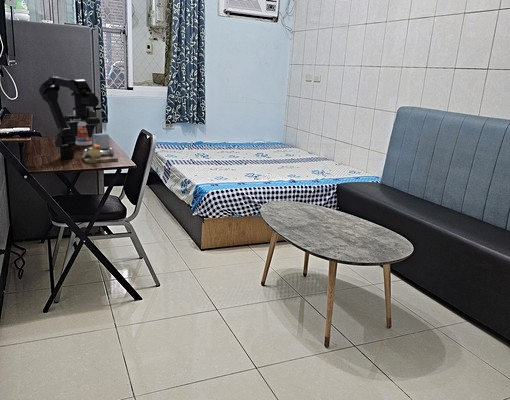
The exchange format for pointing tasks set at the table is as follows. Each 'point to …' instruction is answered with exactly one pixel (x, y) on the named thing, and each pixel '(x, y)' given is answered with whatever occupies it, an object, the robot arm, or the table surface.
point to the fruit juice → (82, 134)
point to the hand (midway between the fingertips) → (83, 136)
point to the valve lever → (96, 146)
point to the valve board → (100, 159)
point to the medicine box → (101, 140)
